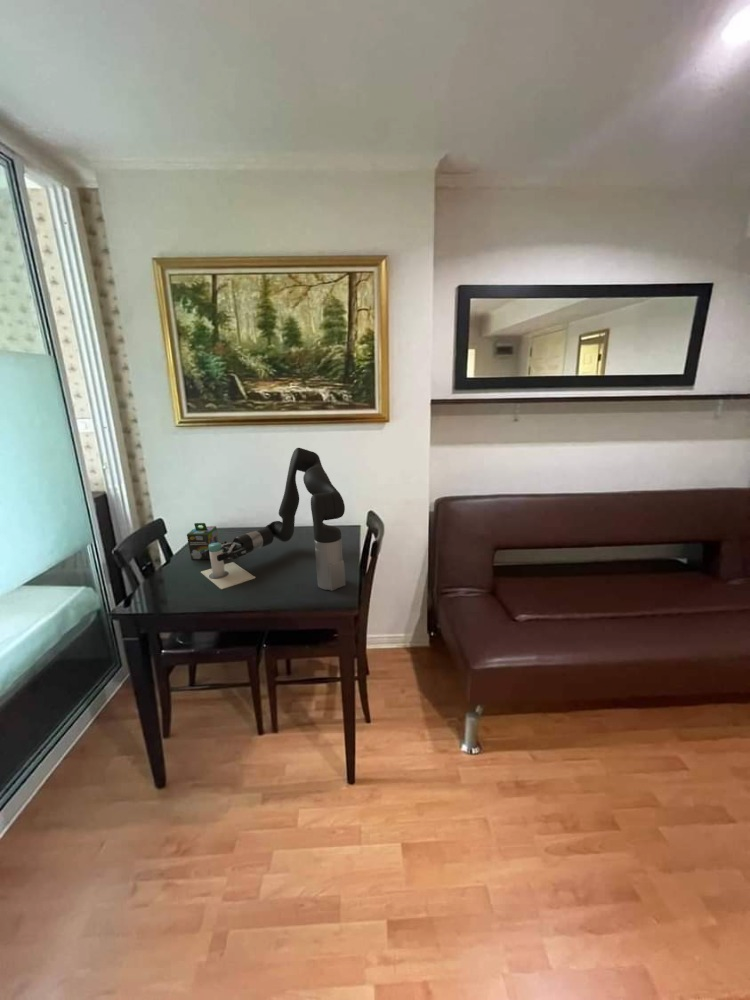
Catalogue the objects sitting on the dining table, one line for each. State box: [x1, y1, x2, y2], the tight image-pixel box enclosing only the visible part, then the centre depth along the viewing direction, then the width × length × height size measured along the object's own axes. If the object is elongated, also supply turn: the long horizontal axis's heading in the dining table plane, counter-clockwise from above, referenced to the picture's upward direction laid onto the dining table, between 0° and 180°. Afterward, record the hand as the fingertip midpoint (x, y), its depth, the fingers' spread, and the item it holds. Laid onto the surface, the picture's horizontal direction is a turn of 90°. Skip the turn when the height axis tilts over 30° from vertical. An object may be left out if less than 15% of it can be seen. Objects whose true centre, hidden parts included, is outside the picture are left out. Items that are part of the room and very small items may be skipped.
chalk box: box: [186, 522, 220, 560], centre depth 183 cm, size 9×9×15 cm
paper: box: [200, 561, 256, 590], centre depth 165 cm, size 20×13×1 cm, turn 41°
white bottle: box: [209, 542, 225, 577], centre depth 163 cm, size 4×4×12 cm
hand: (211, 556), depth 161 cm, fingers open, 8 cm apart
